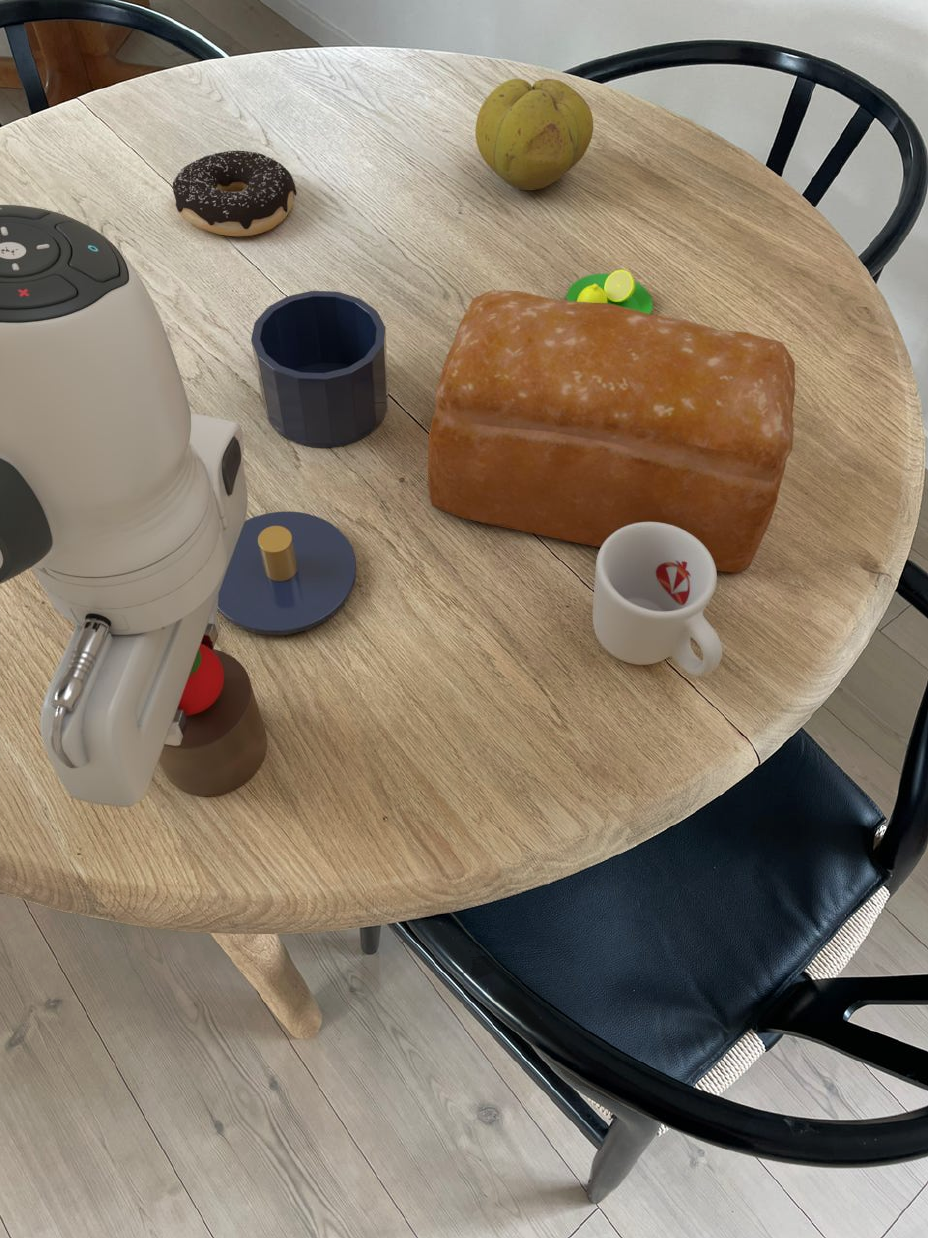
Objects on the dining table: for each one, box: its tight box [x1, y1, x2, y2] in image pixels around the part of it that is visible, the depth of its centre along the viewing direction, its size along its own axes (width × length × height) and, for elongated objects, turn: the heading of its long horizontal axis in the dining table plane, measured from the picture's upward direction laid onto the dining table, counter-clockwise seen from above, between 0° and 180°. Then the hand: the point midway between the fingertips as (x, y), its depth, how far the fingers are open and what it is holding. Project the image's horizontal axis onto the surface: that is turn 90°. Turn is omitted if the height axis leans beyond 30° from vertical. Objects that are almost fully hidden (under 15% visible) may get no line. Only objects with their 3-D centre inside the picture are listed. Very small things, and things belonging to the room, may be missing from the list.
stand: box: [158, 648, 268, 798], centre depth 62 cm, size 7×7×7 cm
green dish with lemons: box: [566, 269, 653, 314], centre depth 90 cm, size 8×8×3 cm
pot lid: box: [217, 511, 357, 636], centre depth 71 cm, size 11×11×5 cm
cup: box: [592, 522, 723, 678], centre depth 67 cm, size 11×8×8 cm
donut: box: [172, 149, 298, 237], centre depth 96 cm, size 11×12×4 cm
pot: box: [250, 290, 389, 449], centre depth 80 cm, size 10×10×8 cm
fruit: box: [474, 78, 594, 191], centre depth 98 cm, size 11×12×10 cm
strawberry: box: [177, 644, 224, 715], centre depth 57 cm, size 4×4×5 cm
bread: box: [427, 290, 796, 574], centre depth 72 cm, size 14×26×16 cm, turn 76°
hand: (188, 685), depth 58 cm, fingers open, 5 cm apart
